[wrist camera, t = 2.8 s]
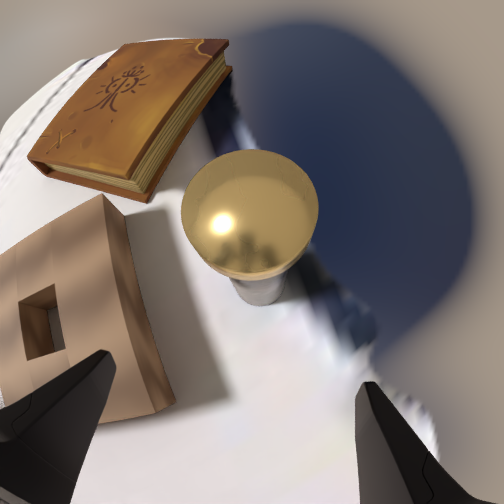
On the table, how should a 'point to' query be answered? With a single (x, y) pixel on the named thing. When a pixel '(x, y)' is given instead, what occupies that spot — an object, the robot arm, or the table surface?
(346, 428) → the table surface
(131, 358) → the socket block
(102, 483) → the table surface
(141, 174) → the diary
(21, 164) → the table surface
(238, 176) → the pin
